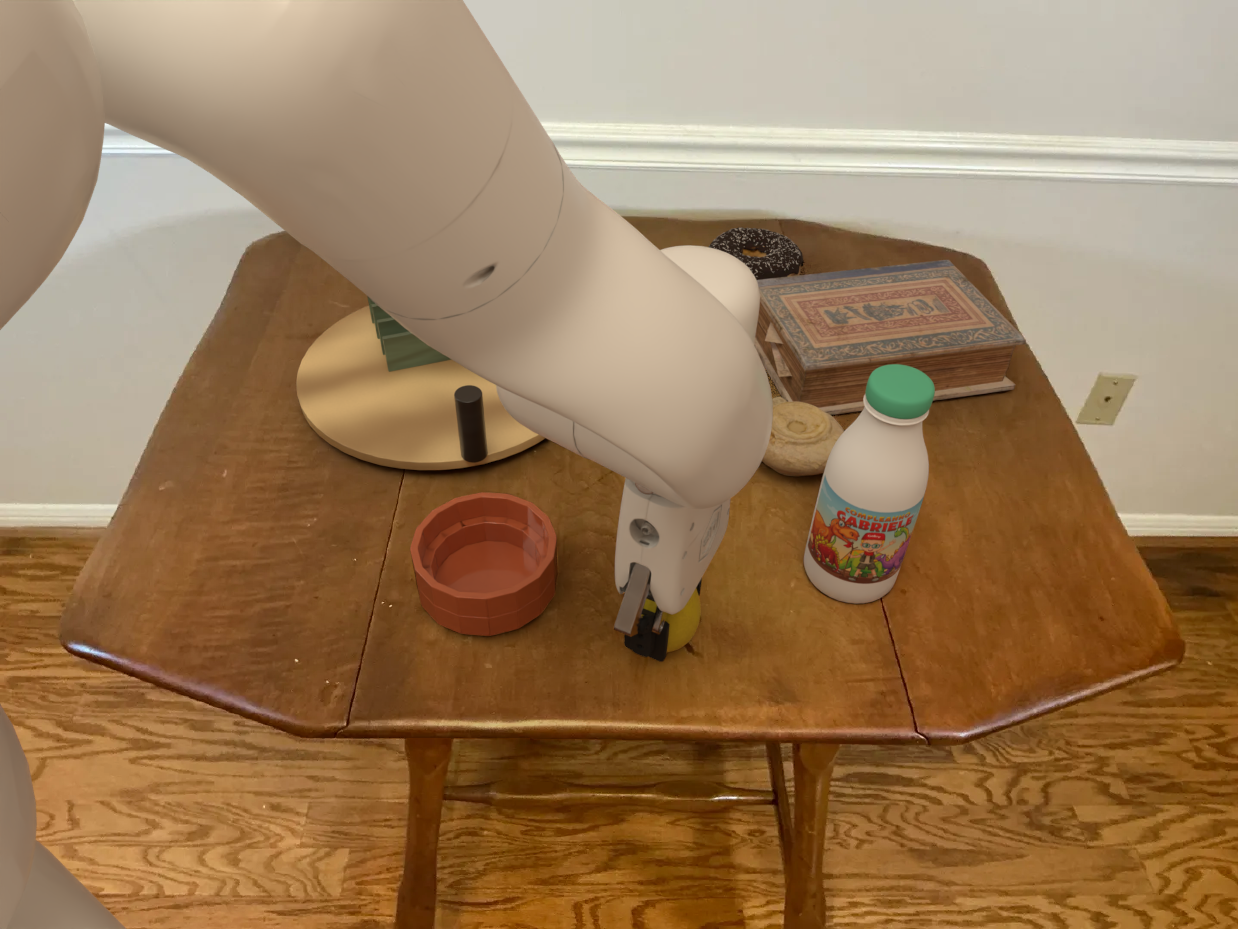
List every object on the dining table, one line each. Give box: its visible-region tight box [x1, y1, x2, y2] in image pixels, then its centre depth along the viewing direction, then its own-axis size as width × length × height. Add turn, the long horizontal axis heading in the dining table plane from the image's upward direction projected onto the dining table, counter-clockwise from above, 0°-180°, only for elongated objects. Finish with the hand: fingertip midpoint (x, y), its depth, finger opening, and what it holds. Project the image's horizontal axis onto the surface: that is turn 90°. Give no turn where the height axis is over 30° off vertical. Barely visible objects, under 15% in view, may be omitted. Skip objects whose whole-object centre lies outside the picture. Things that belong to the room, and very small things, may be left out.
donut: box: [708, 227, 805, 280], centre depth 113 cm, size 11×12×4 cm
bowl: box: [409, 491, 559, 637], centre depth 76 cm, size 11×11×5 cm
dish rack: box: [295, 295, 546, 471], centre depth 93 cm, size 30×29×8 cm
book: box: [754, 259, 1026, 416], centre depth 99 cm, size 17×7×25 cm
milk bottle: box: [803, 364, 935, 605], centre depth 73 cm, size 8×8×20 cm
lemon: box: [643, 589, 702, 653], centre depth 71 cm, size 6×6×8 cm
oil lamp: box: [761, 396, 845, 477], centre depth 88 cm, size 11×14×5 cm
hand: (662, 619), depth 71 cm, fingers closed on lemon, 5 cm apart
